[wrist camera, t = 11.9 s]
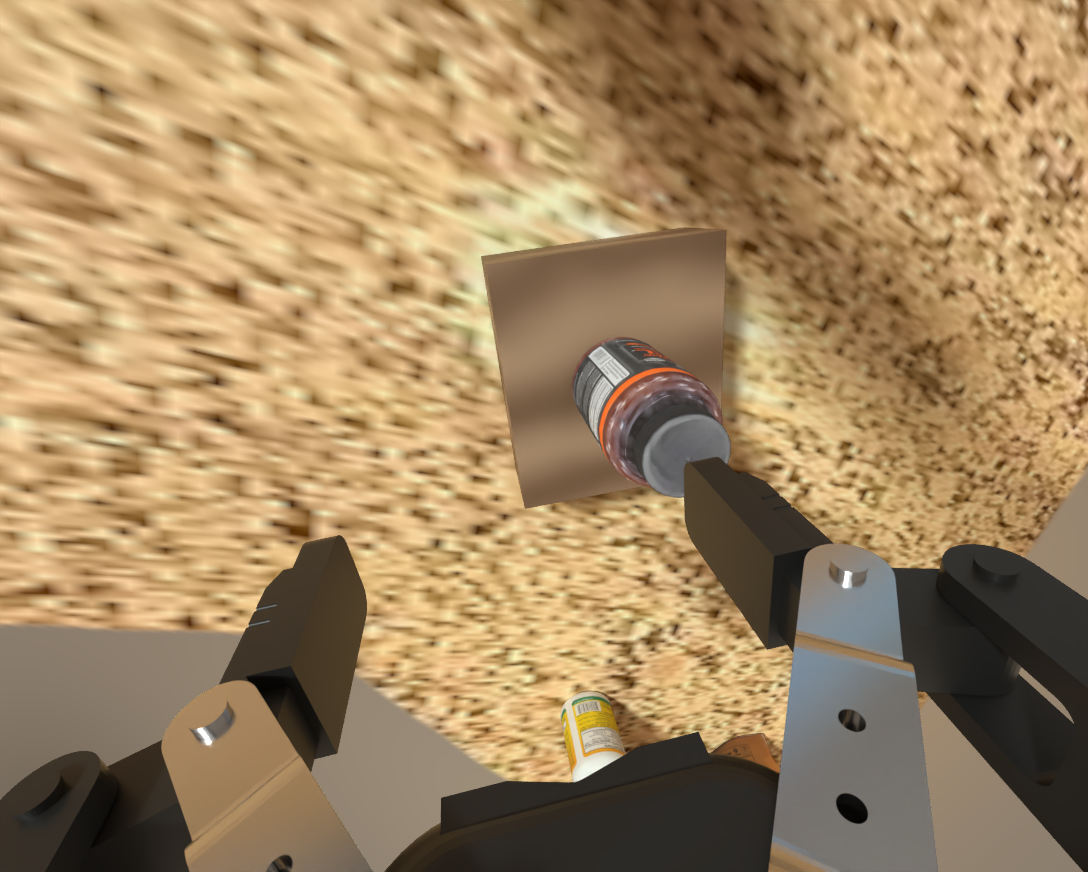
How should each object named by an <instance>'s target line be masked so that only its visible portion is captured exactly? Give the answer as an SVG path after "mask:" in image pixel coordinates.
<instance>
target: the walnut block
mask: <svg viewBox="0 0 1088 872" xmlns="http://www.w3.org/2000/svg"><path fill="white" fill-rule="evenodd" d="M481 259H482V265H483V271H484V277H485V283H486V289H487V295H488V301H489V307H490V313H491V319H492V326H493V332H494V338H495V344H496V350H497V356H498V362H499V368H500V374H501V380H502V387H503V393H504V399H505V405H506V411H507V417H508V423H509V429H510V435H511V441H512V447H513V454H514V460H515V466H516V471H517V475H518V480H519V484H520V489H521V493H522V497H523V502H524V506H525V509H526V508H531V507H537V506H542V505H547V504H553V503H558V502H563V501H568V500H574V499H579V498H584V497H590V496H595V495H600V494H606V493H611V492H616V491H621V490H627V489H632V488H637V487H643V486H641V485H638V484H635V483H633V482H631V481H629V480H627V479H626V478H624V477H623V476H621V475H620V474H619V473H618V472H617V471H616V470H615V469H614V467H613V466H612V465H611V463H610V462H609V460H608V459H607V457H606V455H605V454H604V452H603V451H602V449H601V447H600V446H599V444H598V443H597V441H596V439H595V438H594V436H593V434H592V432H591V431H590V429H589V427H588V426H587V424H586V422H585V421H584V419H583V417H582V415H581V414H580V412H579V410H578V408H577V406H576V404H575V401H574V399H573V393H572V379H573V375H574V371H575V369H576V366H577V364H578V362H579V361H580V359H581V358H582V356H583V355H584V354H585V353H586V352H587V351H588V350H589V349H591V348H592V347H593V346H595V345H596V344H598V343H599V342H601V341H604V340H606V339H608V338H615V337H629V338H634V339H637V340H640V341H642V342H645V343H647V344H649V345H650V346H651V347H653V348H654V349H656V350H657V351H659V352H660V353H662V354H663V355H665V356H666V357H667V358H669V359H670V360H672V361H673V362H675V363H676V364H677V365H679V366H681V367H682V368H684V369H685V370H687V371H688V372H689V373H691V374H693V375H694V376H695V377H697V378H698V379H699V380H701V381H702V382H703V383H704V384H705V385H707V386H708V388H709V389H710V390H711V391H712V392H713V394H714V395H715V397H716V398H717V400H718V403H719V405H720V408H721V403H722V367H723V332H724V296H725V261H726V230H716V229H700V228H677V229H670V230H663V231H656V232H649V233H642V234H635V235H628V236H621V237H614V238H607V239H600V240H593V241H586V242H579V243H572V244H565V245H558V246H550V247H543V248H536V249H529V250H522V251H515V252H508V253H501V254H494V255H487V256H481Z"/></svg>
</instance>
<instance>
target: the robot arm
mask: <svg viewBox="0 0 1088 872" xmlns="http://www.w3.org/2000/svg"><path fill="white" fill-rule="evenodd" d="M684 507H685V523H686V527H687V531H688V534H689V536H690V538H691V540H692V542H693V544H694V545H695V547H696V548H697V550H698V551H699V552H700V554H701V555H702V557H703V558H704V560H705V561H706V562H707V564H708V565H709V567H710V568H711V570H712V571H713V573H714V574H715V575H716V577H717V578H718V580H719V581H720V583H721V584H722V585H723V587H724V588H725V590H726V591H727V593H728V594H729V596H730V597H731V598H732V600H733V601H734V603H735V604H736V606H737V607H738V608H739V610H740V611H741V613H742V614H743V616H744V617H745V619H746V620H747V621H748V623H749V624H750V626H751V627H752V629H753V630H754V631H755V633H756V634H757V636H758V637H759V639H760V640H761V641H762V643H763V644H764V646H765V647H766V649H767V650H768V649H772V648H776V647H780V646H784V645H788V646H789V648H790V649H791V650H792V652H793V661H792V670H791V679H790V688H789V696H788V705H787V714H786V723H785V731H784V740H783V749H782V757H781V766H780V773H778V772H776V771H774V770H772V769H770V768H768V767H766V766H764V765H761V764H758V763H756V762H753V761H751V760H747V759H744V758H740V757H736V756H732V755H725V754H718V753H708V752H707V750H706V748H705V745H704V743H703V741H702V739H701V737H700V734H699V732H696V733H692V734H688V735H684V736H680V737H676V738H672V739H668V740H665V741H661V742H657V743H653V744H649V745H645V746H641V747H637V748H635V749H634V750H632V751H630V752H629V753H627V754H625V755H623V756H622V757H620V758H618V759H616V760H615V761H613V762H611V763H610V764H608V765H606V766H604V767H603V768H601V769H599V770H598V771H596V772H594V773H592V774H591V775H589V776H587V777H585V778H584V779H582V780H580V781H577V782H570V783H566V782H522V781H505V782H501V783H498V784H493V785H490V786H486V787H482V788H478V789H474V790H470V791H466V792H462V793H459V794H455V795H451V796H447V797H443V798H441V823H440V824H438V825H436V826H434V827H433V828H431V829H430V830H429V831H427V832H426V833H424V834H423V835H421V836H420V837H419V838H417V839H416V840H415V841H414V842H413V843H412V844H410V845H409V846H408V847H407V848H406V849H405V850H404V851H403V852H402V853H401V854H400V855H399V856H398V857H397V858H396V859H395V860H394V861H393V863H392V864H391V865H390V866H389V867H388V868H387V869H386V871H385V872H938V865H937V857H936V848H935V839H934V831H933V822H932V813H931V805H930V796H929V788H928V779H927V772H926V762H925V753H924V745H923V736H922V728H921V719H920V710H919V702H918V693H917V691H921V692H926V693H927V694H928V695H929V697H930V698H931V699H932V700H933V701H934V702H935V703H936V704H937V706H938V707H939V708H940V709H941V710H942V711H943V712H944V714H945V715H946V716H947V717H948V718H949V719H950V720H951V722H953V724H954V725H955V726H956V727H957V728H958V730H959V731H960V732H961V733H962V734H963V735H964V736H965V737H966V738H967V740H968V741H969V742H970V743H971V744H972V745H973V747H975V749H976V750H977V751H978V752H979V753H980V754H981V756H982V757H983V758H984V759H985V760H986V761H987V763H988V764H989V765H990V766H991V767H992V768H993V769H994V770H995V772H996V773H997V774H998V775H999V776H1000V777H1001V778H1002V779H1003V781H1004V782H1005V783H1006V784H1007V785H1008V786H1009V787H1010V789H1011V790H1012V791H1013V792H1014V793H1015V794H1016V795H1017V797H1018V798H1019V799H1020V800H1021V801H1022V802H1023V803H1024V805H1025V806H1026V807H1027V808H1028V809H1029V810H1030V811H1031V813H1032V814H1033V815H1034V816H1035V817H1036V818H1037V819H1038V821H1040V823H1041V824H1042V825H1043V826H1044V827H1045V829H1046V830H1047V831H1048V832H1049V833H1050V834H1051V835H1052V836H1053V838H1054V839H1055V840H1056V841H1057V842H1058V843H1059V844H1060V846H1061V847H1062V848H1063V849H1064V850H1065V851H1066V852H1067V853H1068V854H1069V856H1070V857H1071V858H1072V859H1073V860H1074V861H1075V863H1076V864H1077V865H1078V866H1079V867H1080V868H1081V869H1082V871H1083V872H1088V600H1087V599H1086V598H1084V597H1083V596H1081V595H1079V594H1078V593H1077V592H1075V591H1074V590H1072V589H1071V588H1069V587H1068V586H1066V585H1065V584H1064V583H1062V582H1060V581H1059V580H1057V579H1056V578H1055V577H1053V576H1052V575H1050V574H1049V573H1047V572H1046V571H1044V570H1043V569H1041V568H1040V567H1038V566H1037V565H1035V564H1034V563H1032V562H1030V561H1029V560H1027V559H1025V558H1023V557H1021V556H1019V555H1017V554H1015V553H1012V552H1010V551H1006V550H1003V549H1000V548H996V547H992V546H985V545H976V544H966V545H959V546H955V547H952V548H950V549H948V550H947V551H946V552H945V553H944V555H943V558H942V562H941V565H940V569H917V568H891V567H890V566H889V564H888V563H887V562H885V561H884V560H883V559H882V558H880V557H879V556H877V555H876V554H874V553H872V552H870V551H868V550H865V549H863V548H860V547H856V546H852V545H847V544H834V543H833V542H831V541H830V540H829V539H828V538H827V537H826V536H825V535H824V534H823V533H822V532H820V531H819V530H818V529H817V528H816V527H815V526H814V525H813V524H812V523H810V522H809V521H808V520H807V519H806V518H805V517H804V516H803V515H802V514H801V513H799V512H798V511H797V510H796V509H795V508H794V507H793V508H792V507H791V504H789V503H788V502H787V501H786V500H785V499H784V498H783V497H780V496H779V494H778V493H777V492H776V491H775V490H774V489H773V488H772V487H771V486H770V485H769V484H767V483H766V482H765V481H763V480H761V479H759V478H757V477H754V476H752V475H750V474H748V473H745V472H742V473H738V474H736V473H735V472H734V471H733V470H732V469H731V468H730V467H729V466H728V465H727V464H726V463H725V462H724V461H723V460H722V459H721V458H719V457H712V458H707V459H702V460H698V461H693V462H688V463H686V464H685V466H684ZM256 609H257V611H255V612H254V613H253V615H252V618H251V620H250V622H249V627H248V628H246V630H245V632H244V634H243V636H242V638H241V640H240V642H239V644H238V647H237V648H236V651H235V653H234V655H233V657H232V659H231V661H230V663H229V665H228V667H227V669H226V671H225V673H224V675H223V678H222V679H221V682H220V684H219V685H218V686H215V687H213V688H211V689H209V690H207V691H206V692H204V693H202V694H201V695H199V696H198V697H196V698H195V699H194V700H192V701H191V702H190V703H189V704H187V705H186V706H185V707H184V708H183V709H182V710H181V711H180V712H179V713H178V714H177V715H176V717H175V718H174V719H173V720H172V722H171V723H170V725H169V726H168V728H167V730H166V732H165V734H164V737H163V740H161V741H159V742H157V743H155V744H153V745H151V746H149V747H147V748H145V749H143V750H141V751H139V752H137V753H134V754H132V755H130V756H129V757H126V758H124V759H122V760H120V761H118V762H116V763H114V764H112V765H110V766H108V767H107V766H106V765H105V764H104V763H103V761H102V760H101V759H100V758H99V757H98V756H97V755H96V754H95V753H93V752H89V751H78V752H74V753H70V754H67V755H64V756H61V757H59V758H57V759H55V760H53V761H51V762H49V763H47V764H45V765H43V766H42V767H40V768H39V769H37V770H36V771H34V772H32V773H31V774H30V775H28V776H27V777H26V778H24V779H23V780H22V781H20V782H19V783H18V784H17V785H16V786H14V787H13V788H12V789H11V790H10V791H9V792H8V793H7V794H6V795H5V796H4V797H3V798H2V799H1V800H0V872H373V871H372V869H371V867H370V866H369V864H368V863H367V861H366V859H365V858H364V857H363V855H362V853H361V852H360V850H359V849H358V847H357V845H356V844H355V842H354V840H353V839H352V837H351V836H350V834H349V832H348V831H347V829H346V828H345V826H344V825H343V823H342V821H341V820H340V818H339V817H338V815H337V813H336V812H335V810H334V809H333V807H332V806H331V804H330V802H329V801H328V799H327V798H326V796H325V794H324V793H323V791H322V790H321V788H320V786H319V785H318V783H317V782H316V780H315V778H314V777H313V775H312V774H311V771H312V766H313V762H314V759H317V758H321V757H325V756H329V755H333V754H337V752H338V747H339V743H340V738H341V732H342V728H343V724H344V718H345V714H346V709H347V705H348V700H349V695H350V690H351V686H352V681H353V676H354V672H355V667H356V662H357V657H358V653H359V648H360V643H361V638H362V634H363V629H364V624H365V620H366V614H367V600H366V594H365V589H364V586H363V584H362V581H361V579H360V576H359V574H358V571H357V569H356V566H355V563H354V561H353V558H352V556H351V553H350V551H349V548H348V546H347V543H346V541H345V539H344V538H343V537H342V536H340V535H338V536H334V537H329V538H324V539H320V540H315V541H310V542H306V543H304V544H303V546H302V548H301V550H300V553H299V555H298V557H297V560H296V562H295V564H294V566H293V568H291V569H286V570H283V571H282V572H281V573H280V574H279V575H278V576H277V577H276V578H275V579H274V580H273V581H272V582H271V583H270V585H269V586H268V587H267V588H266V589H265V591H264V593H263V595H262V597H261V599H260V601H259V603H258V605H257V607H256ZM1021 667H1022V668H1023V669H1024V670H1026V671H1027V672H1028V673H1029V674H1030V675H1031V676H1032V677H1033V678H1035V679H1036V680H1037V681H1038V682H1039V683H1040V684H1041V685H1043V686H1044V687H1045V688H1046V689H1047V690H1048V691H1049V692H1050V693H1052V694H1053V695H1054V696H1055V697H1056V698H1057V699H1058V700H1059V701H1060V702H1061V703H1062V704H1063V705H1064V707H1065V708H1066V709H1067V711H1068V712H1069V714H1070V716H1071V717H1072V719H1073V722H1074V724H1073V723H1072V722H1071V721H1070V720H1069V719H1068V718H1067V717H1066V716H1065V715H1063V714H1062V713H1061V712H1060V711H1059V710H1058V709H1057V708H1056V707H1055V706H1053V705H1052V704H1051V703H1050V702H1049V701H1048V700H1047V699H1046V698H1044V697H1043V696H1042V695H1041V694H1040V693H1039V692H1038V691H1037V690H1036V689H1034V687H1032V686H1031V685H1030V684H1029V683H1028V682H1027V681H1026V680H1025V679H1023V678H1022V677H1021V676H1020V675H1019V671H1020V668H1021Z"/></svg>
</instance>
